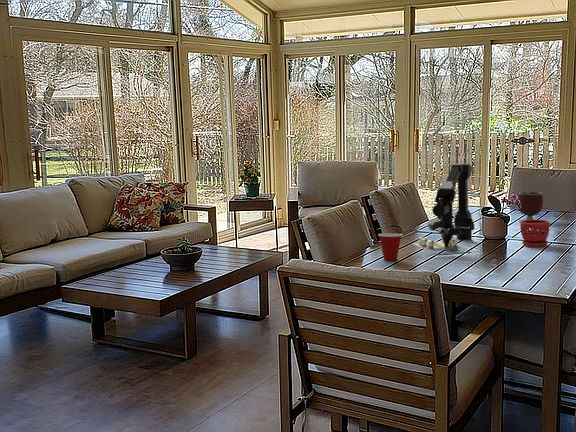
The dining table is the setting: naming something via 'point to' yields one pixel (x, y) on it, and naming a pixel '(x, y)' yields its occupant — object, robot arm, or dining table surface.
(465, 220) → the robot arm
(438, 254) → the mat
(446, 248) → the dark grey hexagonal block
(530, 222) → the plant pot
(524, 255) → the dining table surface
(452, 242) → the steel spacers
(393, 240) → the plastic cup
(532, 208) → the mate gourd
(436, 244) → the board
